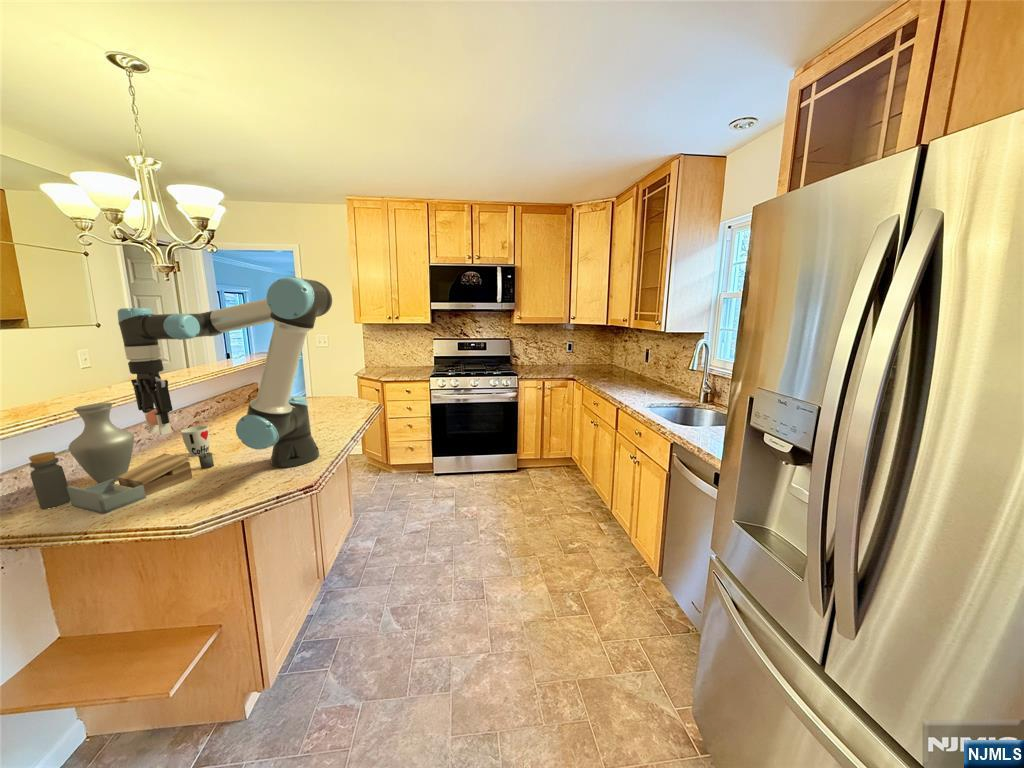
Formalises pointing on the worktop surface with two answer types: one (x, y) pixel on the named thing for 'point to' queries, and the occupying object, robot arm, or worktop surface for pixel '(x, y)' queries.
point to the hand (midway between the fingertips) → (160, 432)
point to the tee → (206, 460)
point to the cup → (196, 439)
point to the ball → (152, 417)
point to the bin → (104, 496)
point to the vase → (102, 444)
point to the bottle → (49, 480)
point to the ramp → (158, 473)
